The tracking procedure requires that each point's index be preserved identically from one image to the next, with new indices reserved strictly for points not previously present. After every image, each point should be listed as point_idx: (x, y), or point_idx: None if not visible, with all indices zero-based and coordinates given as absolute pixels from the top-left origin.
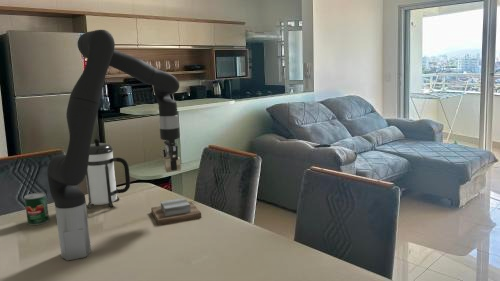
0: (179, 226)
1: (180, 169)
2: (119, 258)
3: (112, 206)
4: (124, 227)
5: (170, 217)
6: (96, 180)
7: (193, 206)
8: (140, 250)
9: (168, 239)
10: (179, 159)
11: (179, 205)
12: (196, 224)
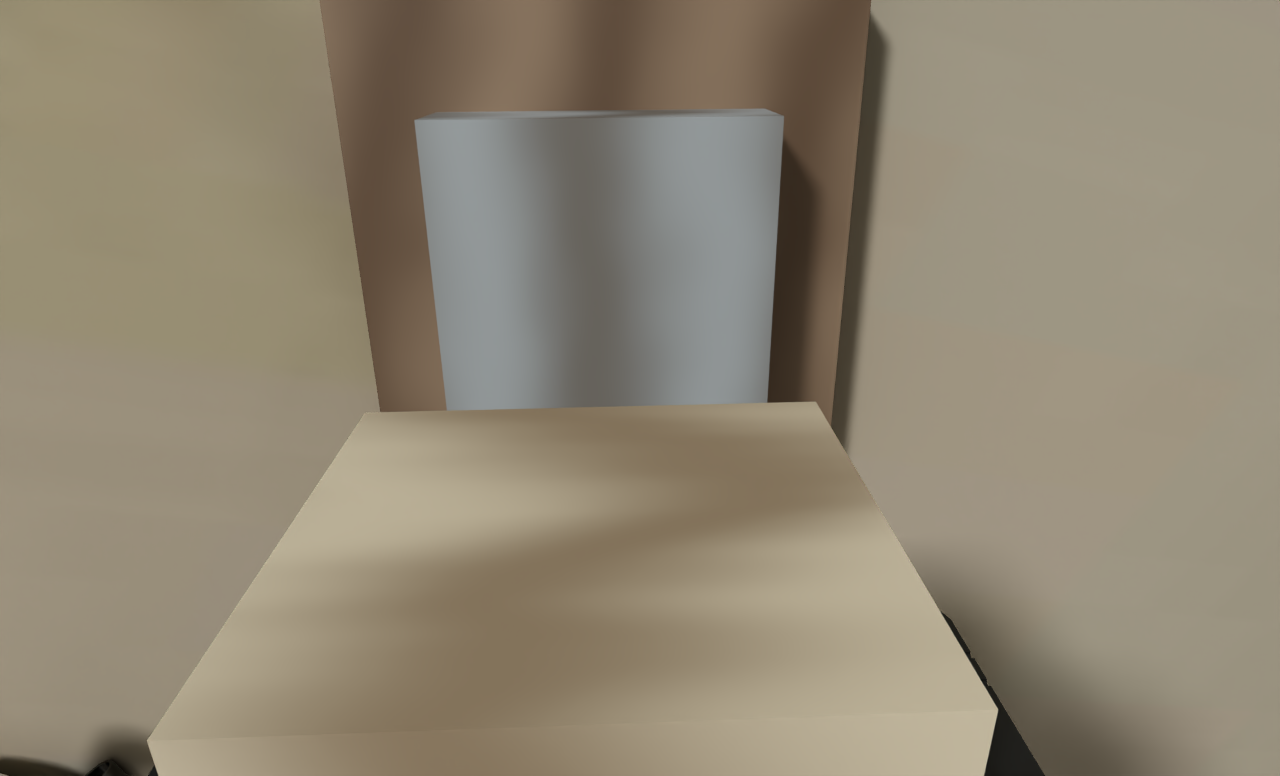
0: (965, 291)
1: (824, 426)
2: (1256, 754)
3: (118, 769)
4: None
5: (819, 369)
6: None
7: (568, 12)
8: (1236, 641)
9: (1194, 439)
10: (965, 686)
11: (735, 263)
12: (1024, 108)
